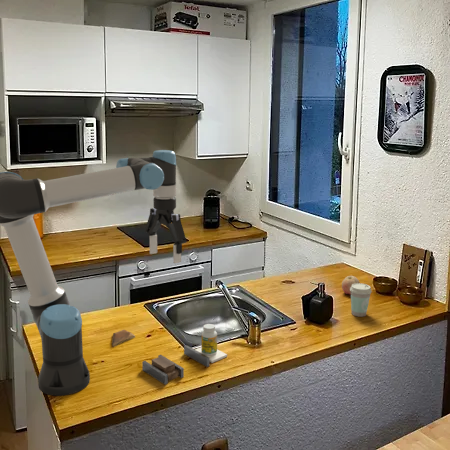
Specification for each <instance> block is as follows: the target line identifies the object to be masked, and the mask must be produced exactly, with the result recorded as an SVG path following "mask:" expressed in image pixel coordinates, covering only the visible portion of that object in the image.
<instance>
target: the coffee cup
mask: <svg viewBox="0 0 450 450" xmlns="http://www.w3.org/2000/svg"><path fill="white" fill-rule="evenodd" d="M350 291H351V295H350V305H351V308H350V310H351V315H353V316H355V317H363V318H364V317H366V316H367V312H368V308H369V303H370V302H369V301H370V298H371V293H373V291H372V288H371V286H370V285H368V284H366V283H356V284H352V286H351V288H350Z"/></svg>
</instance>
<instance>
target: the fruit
mask: <svg viewBox="0 0 450 450" xmlns="http://www.w3.org/2000/svg"><path fill="white" fill-rule="evenodd" d="M356 283H360V280H359V279H358V278H357V277H356V276H355V275H354V276H353V275H348V276H345V278H344V279H343V280H342V282H341V289H342V291H343V292H344V293H345V294H346V295H348V296H351V291H350V288H351V286H352V284H356Z"/></svg>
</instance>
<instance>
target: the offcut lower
mask: <svg viewBox="0 0 450 450" xmlns="http://www.w3.org/2000/svg"><path fill="white" fill-rule="evenodd" d="M150 364H151V365H152V363H150ZM166 374H167V375H168V382H170V381H172V380H174V379H176V378H180V377H179V371H178V370H177V369H175V370H173V371H170V372H168V373H166Z"/></svg>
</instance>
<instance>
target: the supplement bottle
mask: <svg viewBox="0 0 450 450" xmlns="http://www.w3.org/2000/svg"><path fill="white" fill-rule="evenodd" d="M200 341H201V346H200V347H202V349H201V350H202V353H203V354H205V355H214V354H216V353H217V349H218V332H217V331H216V325H215V324H212V323H206V324H203V329H202V331H201V340H200Z"/></svg>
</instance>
